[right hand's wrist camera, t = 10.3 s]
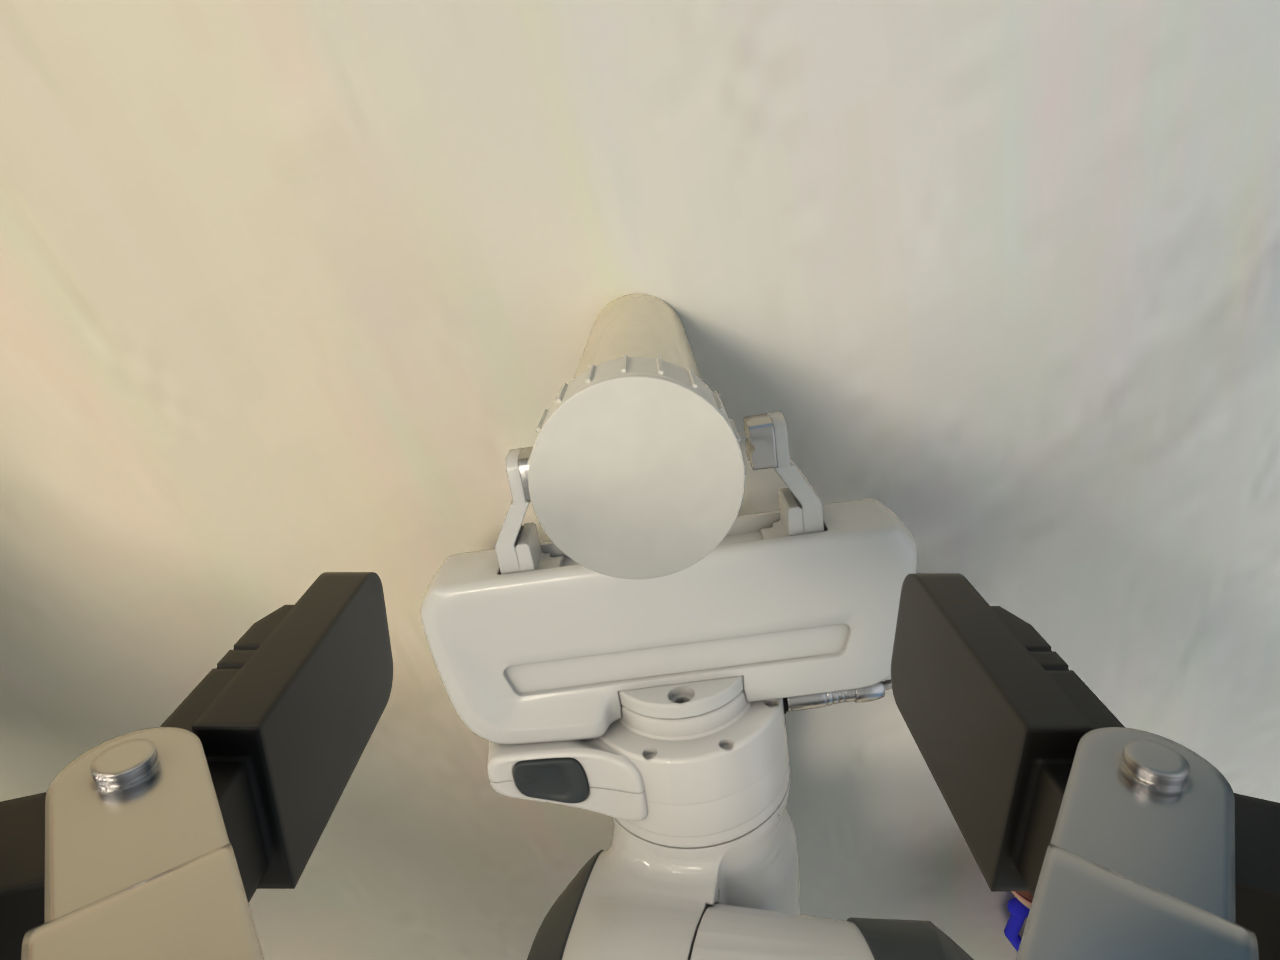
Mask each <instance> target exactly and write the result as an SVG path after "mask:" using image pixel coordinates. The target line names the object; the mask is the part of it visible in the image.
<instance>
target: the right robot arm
mask: <svg viewBox="0 0 1280 960" xmlns="http://www.w3.org/2000/svg"><path fill="white" fill-rule="evenodd" d="M392 680H393V660H392V652H391V645H390V638H389V631H388V623H387V616H386V609H385V601H384V594H383V588H382V583H381V580H380V578H379V576H378V575H377V574H376V573H374V572H326V573H323V574H321V575H320V576H319V577H318V578H317V579H316V581H315V582H314V583H313V584H312V585H311V586H310V588H309V589H308V590H307V591H306V592H305V594H304V595H303V596H302V597H301V598H300V599H299V601H298V602H297V603H296V604H295V605H284V606H283V607H281V608H279V609H278V610H276V611H274V612H273V613H271V614H269V615H268V616H266V617H264V618H263V619H261V620H259V621H258V622H256V623H254V624H253V625H252V626H251V627H250V629H249V630H248V631H247V632H246V633H245V634H244V635H243V636H242V637H241V638H240V640H239V641H238V642H237V643H236V644H235V645H234V650H230V651H229V652H228V653H227V654H226V655H225V656H224V657H223V658H222V659H221V660H220V662H219V663H218V664H217V669H212V670H211V671H210V672H209V674H208V675H207V676H206V677H205V678H204V679H203V680H202V681H201V682H200V683H199V685H198V686H197V687H196V688H195V689H194V690H193V691H192V692H191V693H190V694H189V696H188V697H187V698H186V699H185V700H184V701H183V702H182V703H181V704H180V705H179V707H178V708H177V709H176V710H175V711H174V712H173V713H172V714H171V715H170V716H169V717H168V719H167V720H166V721H165V722H164V723H163V724H162V725H161V726H160V727H157V728H149V729H144V730H139V731H134V732H131V733H128V734H124V735H121V736H119V737H116V738H113V739H111V740H108V741H106V742H104V743H102V744H100V745H97V746H96V747H94V748H92V749H90V750H88V751H87V752H85V753H83V754H82V755H81V756H79V757H78V758H76V759H75V760H73V761H72V762H71V763H70V764H68V765H67V766H66V767H65V768H64V769H63V770H62V771H61V772H60V773H59V774H58V775H57V776H56V777H55V779H54V780H53V781H52V783H51V784H50V786H49V788H48V790H47V792H45V793H40V794H35V795H31V796H26V797H21V798H17V799H12V800H7V801H3V802H0V960H264V957H263V953H262V950H261V946H260V943H259V939H258V936H257V932H256V929H255V925H254V922H253V918H252V915H251V911H250V908H249V904H248V903H249V901H250V900H251V898H252V896H253V894H254V892H255V891H256V889H294V888H295V886H296V884H297V882H298V880H299V878H300V876H301V874H302V872H303V870H304V868H305V866H306V864H307V862H308V860H309V858H310V856H311V854H312V852H313V850H314V848H315V846H316V844H317V842H318V840H319V838H320V836H321V834H322V832H323V830H324V828H325V826H326V824H327V822H328V820H329V818H330V816H331V814H332V812H333V810H334V808H335V806H336V804H337V802H338V800H339V798H340V796H341V794H342V792H343V790H344V788H345V786H346V784H347V782H348V780H349V778H350V777H351V775H352V773H353V771H354V769H355V767H356V765H357V763H358V761H359V759H360V757H361V755H362V753H363V751H364V749H365V747H366V745H367V743H368V741H369V739H370V737H371V735H372V733H373V731H374V729H375V727H376V725H377V723H378V721H379V719H380V717H381V715H382V713H383V711H384V709H385V707H386V705H387V702H388V700H389V696H390V692H391V687H392ZM891 683H892V689H893V694H894V698H895V701H896V704H897V706H898V708H899V710H900V712H901V714H902V716H903V718H904V720H905V722H906V724H907V726H908V728H909V730H910V732H911V734H912V736H913V738H914V740H915V742H916V744H917V746H918V748H919V750H920V752H921V754H922V756H923V758H924V760H925V761H926V763H927V765H928V767H929V769H930V771H931V773H932V775H933V777H934V779H935V781H936V783H937V785H938V787H939V789H940V791H941V793H942V795H943V797H944V799H945V801H946V803H947V805H948V807H949V809H950V811H951V813H952V815H953V817H954V819H955V820H956V822H957V824H958V826H959V828H960V830H961V832H962V834H963V836H964V838H965V840H966V842H967V844H968V846H969V848H970V850H971V852H972V854H973V856H974V858H975V860H976V862H977V864H978V866H979V868H980V870H981V872H982V874H983V876H984V878H985V879H986V881H987V883H988V885H989V887H990V889H991V891H1030V893H1031V895H1032V897H1033V900H1032V904H1031V908H1030V911H1029V915H1028V918H1027V922H1026V925H1025V929H1024V932H1023V936H1022V939H1021V943H1020V946H1019V950H1018V953H1017V957H1016V960H1280V803H1277V802H1272V801H1268V800H1263V799H1258V798H1254V797H1249V796H1244V795H1240V794H1236V793H1233V790H1232V788H1231V786H1230V784H1229V783H1228V781H1227V780H1226V779H1225V777H1224V776H1223V775H1222V774H1221V773H1220V772H1219V771H1218V770H1217V769H1216V768H1215V767H1214V766H1213V765H1212V764H1210V763H1209V762H1208V761H1207V760H1205V759H1204V758H1202V757H1201V756H1199V755H1198V754H1197V753H1195V752H1193V751H1192V750H1190V749H1188V748H1186V747H1184V746H1183V745H1180V744H1178V743H1176V742H1174V741H1172V740H1169V739H1167V738H1164V737H1161V736H1159V735H1156V734H1152V733H1149V732H1146V731H1141V730H1136V729H1131V728H1125V727H1124V726H1123V725H1122V724H1121V723H1120V721H1119V720H1118V719H1117V718H1116V717H1115V716H1114V715H1113V714H1112V713H1111V712H1110V711H1109V709H1108V708H1107V707H1106V706H1105V705H1104V704H1103V703H1102V702H1101V701H1100V700H1099V699H1098V698H1097V696H1096V695H1095V694H1094V693H1093V692H1092V691H1091V690H1090V689H1089V688H1088V687H1087V686H1086V684H1085V683H1084V682H1083V681H1082V680H1081V679H1080V678H1079V677H1078V676H1077V675H1076V674H1075V673H1074V671H1069V669H1068V665H1067V664H1066V663H1065V662H1064V661H1063V659H1062V658H1061V657H1060V656H1059V655H1058V654H1057V653H1056V652H1052V651H1051V646H1050V645H1049V644H1048V643H1047V642H1046V641H1045V640H1044V639H1043V638H1042V637H1041V636H1040V634H1039V633H1038V632H1037V631H1036V630H1035V629H1034V628H1033V627H1032V626H1031V625H1030V624H1028V623H1027V622H1025V621H1023V620H1022V619H1020V618H1018V617H1017V616H1015V615H1013V614H1012V613H1010V612H1008V611H1007V610H1005V609H1003V608H1002V607H1000V606H989V604H988V603H987V602H986V601H985V600H984V599H983V597H982V596H981V595H980V594H979V593H978V592H977V591H976V589H975V588H974V587H973V586H972V585H971V584H970V582H969V581H968V580H967V579H966V578H965V577H964V576H963V575H961V574H908V575H907V576H906V577H905V579H904V581H903V584H902V589H901V595H900V602H899V610H898V617H897V624H896V631H895V638H894V645H893V653H892V660H891Z"/></svg>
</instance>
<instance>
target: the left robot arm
mask: <svg viewBox="0 0 1280 960" xmlns="http://www.w3.org/2000/svg"><path fill="white" fill-rule="evenodd" d="M743 421H744V430H745V433H746V435H747V438H746V440H745V442H746V451H747V457H748V459H749V461H750V463H751V466H752V468H753V470H756V469H765V468H774V469H775V471H776V472H777V473H778V475H779V476H780V477H781V479H782V480H783V481H784V483H785V484H786V485H787V486H788V488H783V489H780V490H779V491H778V497H779V510H778V511H771V512H764V513H756V514H749V515H741V516H737V518H736V520H735V522H734V523H733V525H732V527H731V529H730V531H729V532H728V533H727V535H726V536H725V537H724V539H723V540H722V541H721V542H720V543H719V544H718V545H717V547H716V548H715V549H714V550H713V551H711V552H710V553H709V554H708V555H706V556H705V557H704V558H703V559H701V560H700V561H698V562H696V563H695V564H693V565H692V566H690V567H688V568H685V569H683V570H681V571H679V572H676V573H673V574H670V575H667V576H662V577H657V578H652V579H623V578H616V577H611V576H607V575H604V574H600V573H598V572H595V571H593V570H590V569H588V568H586V567H584V566H582V565H580V564H579V563H577V562H575V561H574V560H572V559H571V558H570V557H568V556H567V555H566V554H564V553H563V552H562V551H561V550H560V549H559V548H558V547H557V546H556V545H555V544H554V543H553V542H552V541H550V542H542V543H540V541H539V537H538V532H537V528H536V525H535V524H534V523H527V524H524V525H523V527H522V522H523V519H524V516H525V513H526V511H527V508H528V505H529V502H530V501H531V499H530V493H529V487H528V470H529V465H528V459H529V457H530V454H531V452H532V449H533V447H527V448H517V449H512V450H510V451H509V453H508V455H507V457H506V472H507V476H508V481H509V485H510V490H511V494H512V502H511V504H510V507H509V510H508V512H507V515H506V518H505V521H504V524H503V526H502V529H501V532H500V535H499V537H498V540H497V543H496V546H495V549H490V550H483V551H475V552H467V553H460V554H455V555H451V556H449V557H448V558H447V559H446V560H445V561H444V562H443V564H442V565H441V567H440V568H439V570H438V571H437V572H436V574H435V575H434V577H433V579H432V580H431V582H430V584H429V586H428V588H427V590H426V592H425V595H424V597H423V601H422V605H421V620H422V624H423V628H424V632H425V635H426V639H427V642H428V645H429V648H430V651H431V654H432V657H433V659H434V662H435V665H436V667H437V670H438V673H439V675H440V677H441V680H442V682H443V685H444V687H445V689H446V692H447V694H448V696H449V698H450V700H451V702H452V705H453V707H454V709H455V710H456V712H457V714H458V716H459V717H460V718H461V720H462V721H463V723H464V724H465V725H466V726H467V727H468V728H469V729H470V730H471V731H472V732H473V733H475V734H476V735H478V736H479V737H481V738H483V739H485V740H488V741H490V744H489V751H488V762H487V771H488V777H489V781H490V783H491V786H492V787H493V789H494V790H495V791H496V792H497V793H499V794H501V795H503V796H506V797H510V798H516V799H523V800H531V801H538V802H545V803H552V804H558V805H564V806H570V807H575V808H580V809H584V810H588V811H592V812H596V813H600V814H603V815H607V816H610V817H612V818H613V821H614V836H613V840H612V845H611V847H610V848H609V849H608V850H607V851H604V850H601V851H599V852H598V853H597V854H596V855H594V856H593V857H592V858H591V859H590V860H589V861H588V862H587V863H586V864H585V865H584V867H583V868H582V869H581V870H580V871H579V873H578V874H577V875H576V877H575V878H574V879H573V880H572V881H571V883H570V884H569V885H568V886H567V888H566V889H565V890H564V892H563V893H562V894H561V895H560V896H559V898H558V899H557V900H556V902H555V903H554V905H553V906H552V908H551V909H550V911H549V912H548V914H547V915H546V917H545V919H544V921H543V923H542V924H541V926H540V929H539V931H538V933H537V935H536V937H535V939H534V942H533V944H532V947H531V950H530V952H529V955H528V958H527V960H973V959H972V958H971V957H970V956H969V955H968V954H967V953H966V952H965V951H964V950H963V949H962V948H961V947H959V946H958V945H957V944H956V943H955V942H954V941H953V940H952V939H951V938H950V937H948V936H947V935H946V934H945V933H944V932H942V931H941V930H940V929H939V928H937V927H936V926H935V925H934V924H933V923H931V922H930V921H916V920H892V919H867V918H849V919H847V921H841V920H834V919H827V918H820V917H812V916H805V915H799V864H798V851H797V841H796V835H795V830H794V827H793V824H792V821H791V819H790V817H789V814H788V812H787V810H786V809H785V806H786V803H787V799H788V795H789V790H790V766H789V755H788V745H787V734H786V724H785V717H784V714H786V712H789V711H797V710H805V709H813V708H820V707H825V706H826V705H827V706H829V705H832V704H837V703H838V702H839V703H843V702H844V701H845V702H851V701H855V702H869V701H874V700H877V699H880V698H883V697H884V695H885V690H888V689H891V688H892V683H891V660H892V653H893V645H894V638H895V631H896V624H897V617H898V610H899V602H900V595H901V589H902V584H903V581H904V579H905V577H906V576H907V575H908V574H916V566H917V550H916V544H915V541H914V539H913V537H912V535H911V533H910V532H909V530H908V529H907V527H906V526H905V525H904V523H903V522H902V521H901V520H900V519H899V518H898V517H897V516H896V515H895V514H894V513H893V512H892V511H891V510H890V509H888V508H887V507H886V506H885V505H884V504H882V503H881V502H880V501H878V500H876V499H872V498H871V499H859V500H852V501H845V502H837V503H830V504H823V505H822V502H821V501H820V499H819V497H818V496H817V494H816V492H815V491H814V489H813V487H812V486H811V484H810V483H809V481H808V480H807V479H806V477H805V476H804V475H803V473H802V472H801V471H800V470H799V468H798V467H797V466H796V464H795V463H794V462H793V460H792V459H791V458H790V454H789V442H788V430H787V425H786V421H785V418H784V417H783V415H782V414H781V412H780V411H779V412H772V413H765V414H759V415H752V416H745V417H744V419H743ZM883 680H885V681H883Z"/></svg>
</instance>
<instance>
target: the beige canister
mask: <svg viewBox="0 0 1280 960" xmlns="http://www.w3.org/2000/svg"><path fill="white" fill-rule="evenodd" d="M623 355H627V358H628V357H647V358H653V359H657V357H662V360H663V361H666V362H670V363H673V364H675V365H677V366H679V367H682V368H684V369H686V370H687V371H688V370H689V369H691V370H693V372H694V375H695V376H697V377H698V378H699V379H700V380H701V377H700V374H699V371H698V368H697V365H696V363H695V360H694V357H693V354H692V351H691V348H690V345H689V342H688V339H687V336H686V333H685V330H684V327H683V325H682V322H681V320H680V318H679V316H678V315H677V314H676V312H675V311H674V310H673V309H672V308H671V307H670V306H669V305H668V304H667V303H665V302H664V301H662V300H660V299H658V298H656V297H653V296H650V295H645V294H631V295H626V296H623V297H620V298H618V299H616V300H614V301H612V302H611V303H610V304H608V305H607V306H606V307H605V308H604V309H603V310H602V311H601V312H600V314H599V315H598V317H597V319H596V320H595V323H594V325H593V328H592V330H591V333H590V336H589V339H588V341H587V344H586V347H585V349H584V352H583V355H582V358H581V360H580V363H579V366H578V369H577V371H576V374H575V377H574V379H575V378H576V377H577V376H579V375H580V374H581V373H583V372H585V371H586V370H588V369H589V366H590V365H592V364H594V366H596V365H599V364H601V363H604V362H607V361H611V360H615V359H619V358H622V357H623ZM701 381H702V380H701Z"/></svg>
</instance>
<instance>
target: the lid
mask: <svg viewBox="0 0 1280 960" xmlns="http://www.w3.org/2000/svg"><path fill="white" fill-rule="evenodd" d="M536 431H537V432H539V434H538V436H537V439H536V441H535V444H534V446H533V449H532V452H531V454H530V457H529V459H528V465H529V470H528V487H529V493H530V499H531V502H532V506H533V509H534V512H535V514H536V516H537V519H538V521H539V523H540V525H541V526H542V528H543V530H544V531H545V533H546V534H547V536H548V537H549V538H550V539H551V540H552V542H553V543H554V544H555V545H556V546H557V547H558V548H559V549H560V550H561V551H562V552H563V553H564V554H566V555H567V556H568V557H570V558H571V559H572V560H574V561H575V562H577V563H579V564H580V565H582V566H584V567H586V568H588V569H590V570H593V571H595V572H598V573H600V574H604V575H607V576H611V577H616V578H623V579H652V578H657V577H662V576H667V575H670V574H673V573H676V572H679V571H681V570H683V569H685V568H688V567H690V566H692V565H693V564H695V563H696V562H698V561H700V560H701V559H703V558H704V557H705V556H706V555H708V554H709V553H710V552H711V551H713V550H714V549H715V548H716V547H717V545H718V544H719V543H720V542H721V541H722V540H723V539H724V537H725V536H726V535H727V533H728V532H729V531H730V529H731V527H732V525H733V523H734V522H735V520H736V518H737V515H738V513H739V510H740V507H741V504H742V500H743V495H744V488H745V475H746V469H745V466H744V461H743V456H742V452H741V449H740V446H739V443H738V442H740V441H741V438H740V436H739V433H738V431H737V429H736V426H735V424H734V422H733V419H729V418H728V415H727V413H726V411H725V409H724V407H723V404H722V402H721V399H720V397H719V394H718V393H717V391H716V390H715V391H714V392H713V391H712V390H711V389H710V388H709V387H708V386H707V385H706V384H705V383H704V382H703V381H701V380H700V379H699V378H698V377H697V376H695V375H694V372H693V370H691V369H689V370H688V371H687V370H686V369H684V368H682V367H679V366H677V365H675V364H673V363H670V362H666V361H663V360H662V357H657V359H653V358H647V357H628V358H627V355H623V357H622V358H619V359H615V360H611V361H607V362H604V363H601V364H599V365H596V366H594V364H592V365H590V366H589V369H588V370H586V371H585V372H583V373H581V374H580V375H579V376H577V377H576V378H575V379H573V380H572V381H571V382H570V383H569V384H568V385H567V384H566V383H564V384H563V385H562V388H561V390H560V393H559V395H558V396H557V397H556V399H555V400H554V402H553V404H552V405H551V407H550V409H549V411H548V410H546V409H545V412H544V414H543V416H542V418H541V420H540V423H539V425H538V427H537V429H536Z"/></svg>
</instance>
